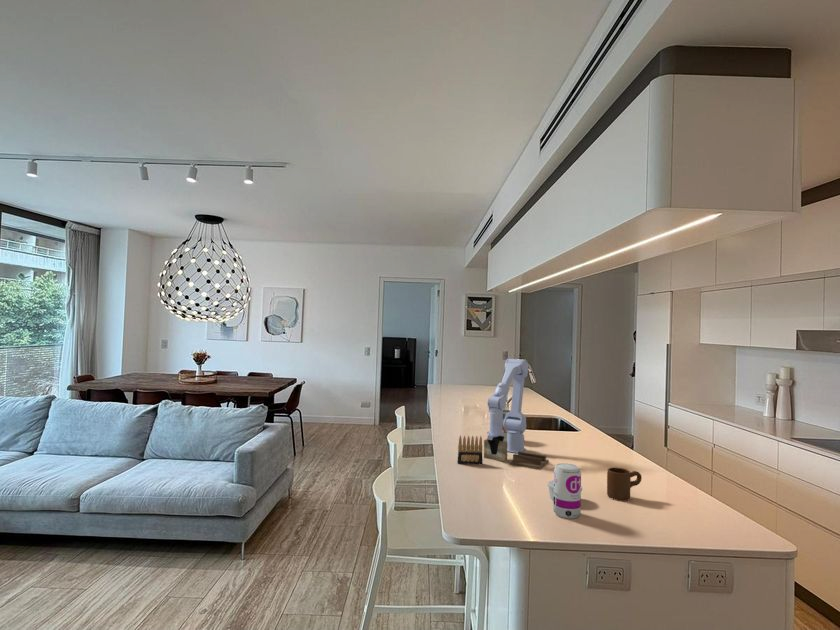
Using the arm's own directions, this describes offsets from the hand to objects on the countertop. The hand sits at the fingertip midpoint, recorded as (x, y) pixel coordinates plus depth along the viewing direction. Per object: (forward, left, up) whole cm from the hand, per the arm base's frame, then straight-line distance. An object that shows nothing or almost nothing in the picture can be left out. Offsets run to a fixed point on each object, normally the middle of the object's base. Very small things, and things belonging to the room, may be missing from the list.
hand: (495, 453), depth 218 cm
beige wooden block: (0, 0, -2) cm, 2 cm away
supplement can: (+49, +44, -3) cm, 66 cm away
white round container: (+36, +40, -3) cm, 54 cm away
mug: (+21, +57, -3) cm, 61 cm away
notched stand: (-2, +15, -2) cm, 15 cm away
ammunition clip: (+14, -6, -3) cm, 15 cm away
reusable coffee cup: (-37, -10, -3) cm, 38 cm away
